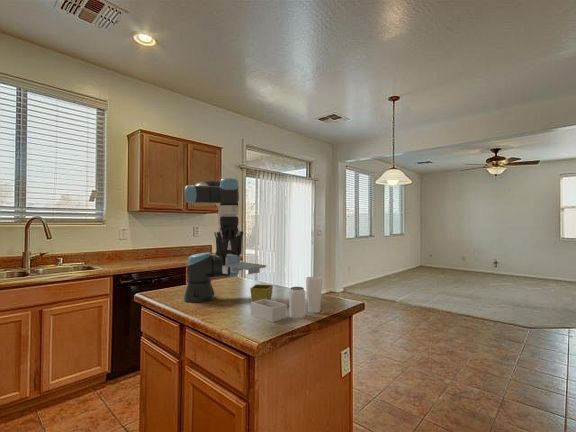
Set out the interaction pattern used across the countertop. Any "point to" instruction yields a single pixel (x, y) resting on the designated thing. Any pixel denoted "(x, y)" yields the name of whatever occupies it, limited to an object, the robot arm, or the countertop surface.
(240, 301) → the countertop surface
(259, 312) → the tub
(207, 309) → the countertop surface
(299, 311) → the can
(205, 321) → the countertop surface
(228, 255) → the lid
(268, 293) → the flower pot
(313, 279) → the drinking glass
